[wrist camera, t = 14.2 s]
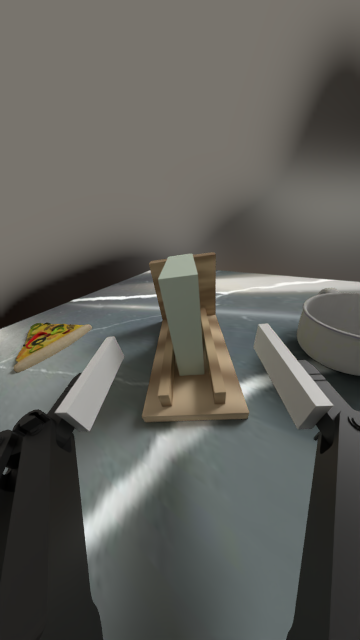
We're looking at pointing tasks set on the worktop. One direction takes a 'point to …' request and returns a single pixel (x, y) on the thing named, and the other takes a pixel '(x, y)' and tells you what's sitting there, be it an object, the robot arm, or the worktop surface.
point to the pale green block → (183, 312)
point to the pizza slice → (47, 342)
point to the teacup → (332, 330)
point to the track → (219, 375)
